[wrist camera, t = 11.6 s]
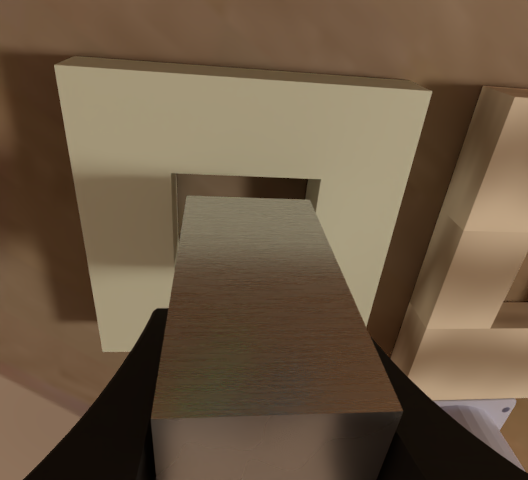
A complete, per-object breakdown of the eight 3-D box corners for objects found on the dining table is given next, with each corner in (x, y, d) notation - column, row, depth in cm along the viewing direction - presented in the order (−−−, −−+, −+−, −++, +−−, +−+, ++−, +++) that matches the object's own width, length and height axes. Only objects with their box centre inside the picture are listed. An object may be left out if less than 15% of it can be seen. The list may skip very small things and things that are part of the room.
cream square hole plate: (349, 320, 21) (360, 349, 20) (112, 321, 20) (102, 352, 18) (408, 80, 15) (432, 91, 14) (74, 55, 14) (54, 64, 12)
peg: (295, 295, 15) (355, 532, 9) (188, 295, 15) (163, 546, 8) (309, 199, 13) (403, 411, 7) (186, 195, 13) (151, 419, 6)
